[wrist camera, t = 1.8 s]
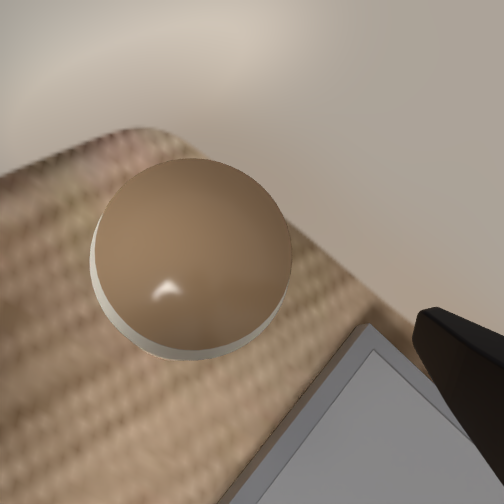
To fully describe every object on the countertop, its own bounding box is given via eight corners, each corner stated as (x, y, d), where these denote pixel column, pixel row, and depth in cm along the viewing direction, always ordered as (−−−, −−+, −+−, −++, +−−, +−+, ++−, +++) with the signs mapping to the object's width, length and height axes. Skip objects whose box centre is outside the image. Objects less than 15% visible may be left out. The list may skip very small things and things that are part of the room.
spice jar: (248, 304, 20) (340, 249, 10) (177, 383, 18) (202, 409, 8) (175, 236, 20) (194, 111, 10) (99, 309, 18) (32, 249, 9)
